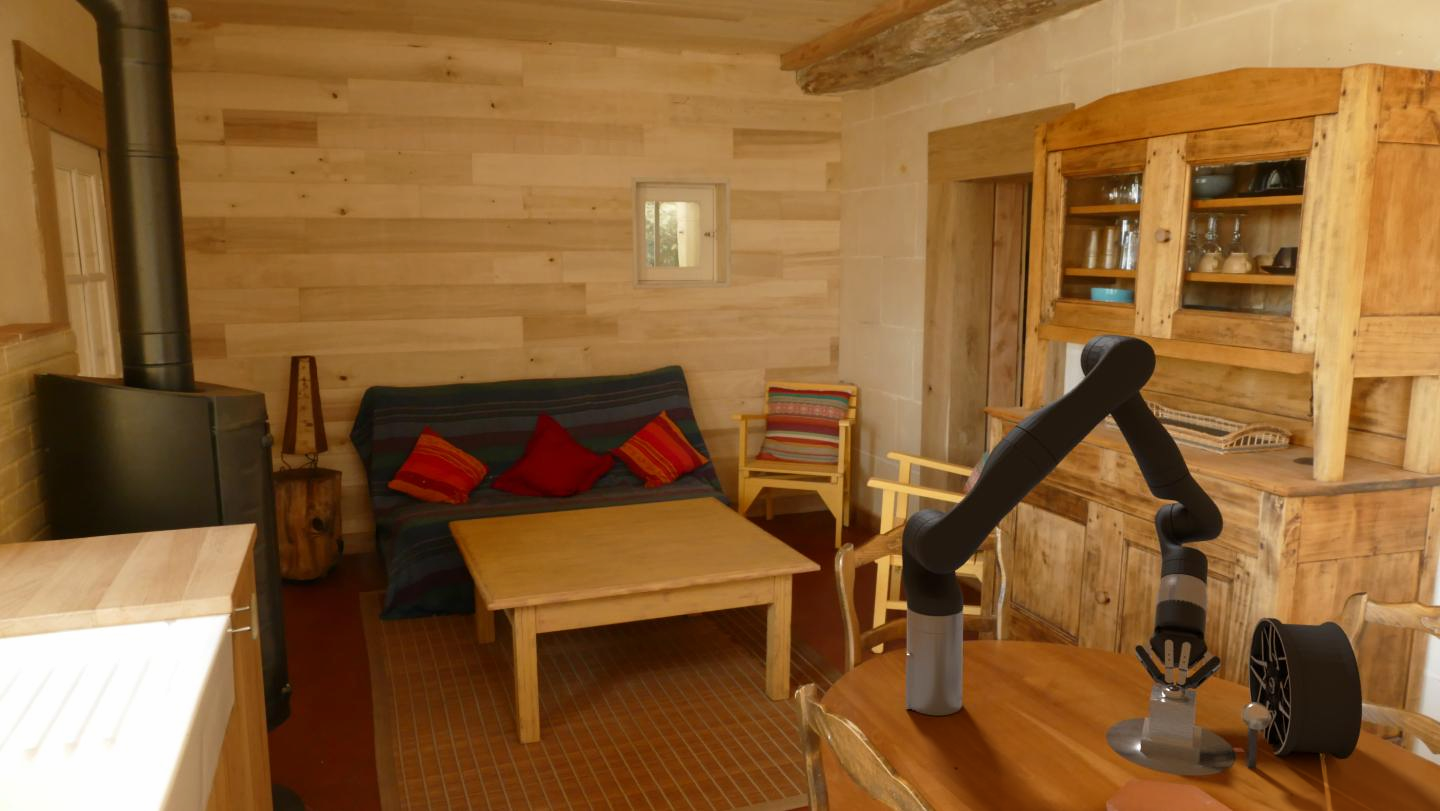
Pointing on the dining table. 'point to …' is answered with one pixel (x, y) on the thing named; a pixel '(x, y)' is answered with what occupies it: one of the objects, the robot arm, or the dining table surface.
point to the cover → (1172, 724)
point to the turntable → (1212, 757)
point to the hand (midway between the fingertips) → (1173, 709)
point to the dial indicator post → (1254, 728)
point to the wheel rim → (1306, 687)
